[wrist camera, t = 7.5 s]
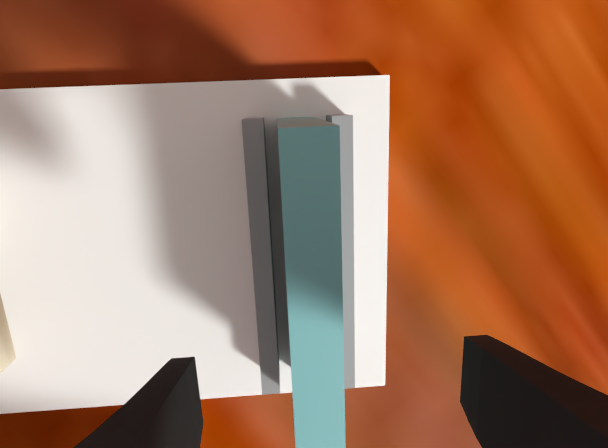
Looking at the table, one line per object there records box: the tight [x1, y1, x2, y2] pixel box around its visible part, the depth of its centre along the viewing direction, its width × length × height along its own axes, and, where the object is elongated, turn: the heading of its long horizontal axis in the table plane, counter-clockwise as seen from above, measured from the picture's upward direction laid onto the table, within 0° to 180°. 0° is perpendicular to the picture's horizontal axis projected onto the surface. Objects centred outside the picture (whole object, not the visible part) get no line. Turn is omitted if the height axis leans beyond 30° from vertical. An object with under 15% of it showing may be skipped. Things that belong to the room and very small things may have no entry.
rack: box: [0, 75, 390, 414], centre depth 18 cm, size 15×24×4 cm, turn 92°
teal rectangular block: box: [277, 117, 345, 448], centre depth 16 cm, size 12×2×8 cm, turn 2°
